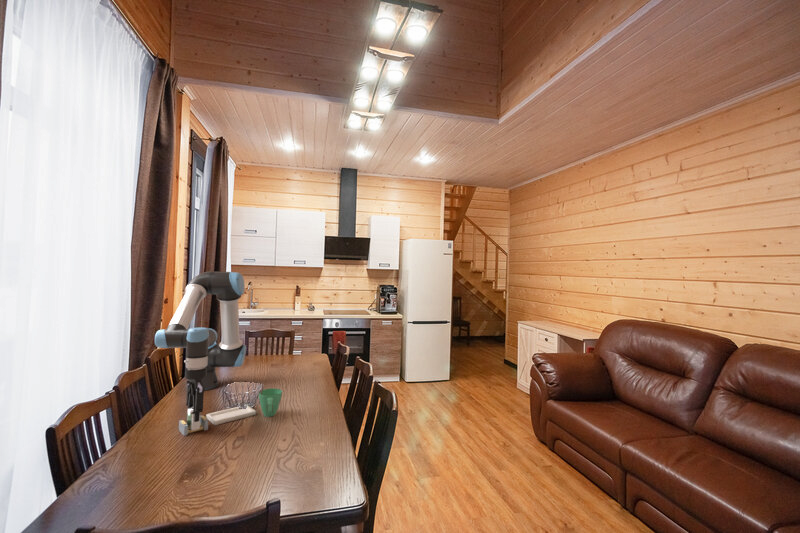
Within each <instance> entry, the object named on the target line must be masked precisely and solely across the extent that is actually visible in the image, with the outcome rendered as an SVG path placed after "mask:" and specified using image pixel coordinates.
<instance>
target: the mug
mask: <svg viewBox="0 0 800 533" xmlns="http://www.w3.org/2000/svg"><path fill="white" fill-rule="evenodd" d="M282 396H283V390H282V389H280V388H272V387H271V388H265V389H262V390H261V391H258V399H259V404H260V407H261V408H260V409H261V411H262V413H263V417H266V418H267V417H268V418H269V417H270V418H271V417H274V416H276V414H277V411H278V410H279V406H280V404H281V400H282Z"/></svg>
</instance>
